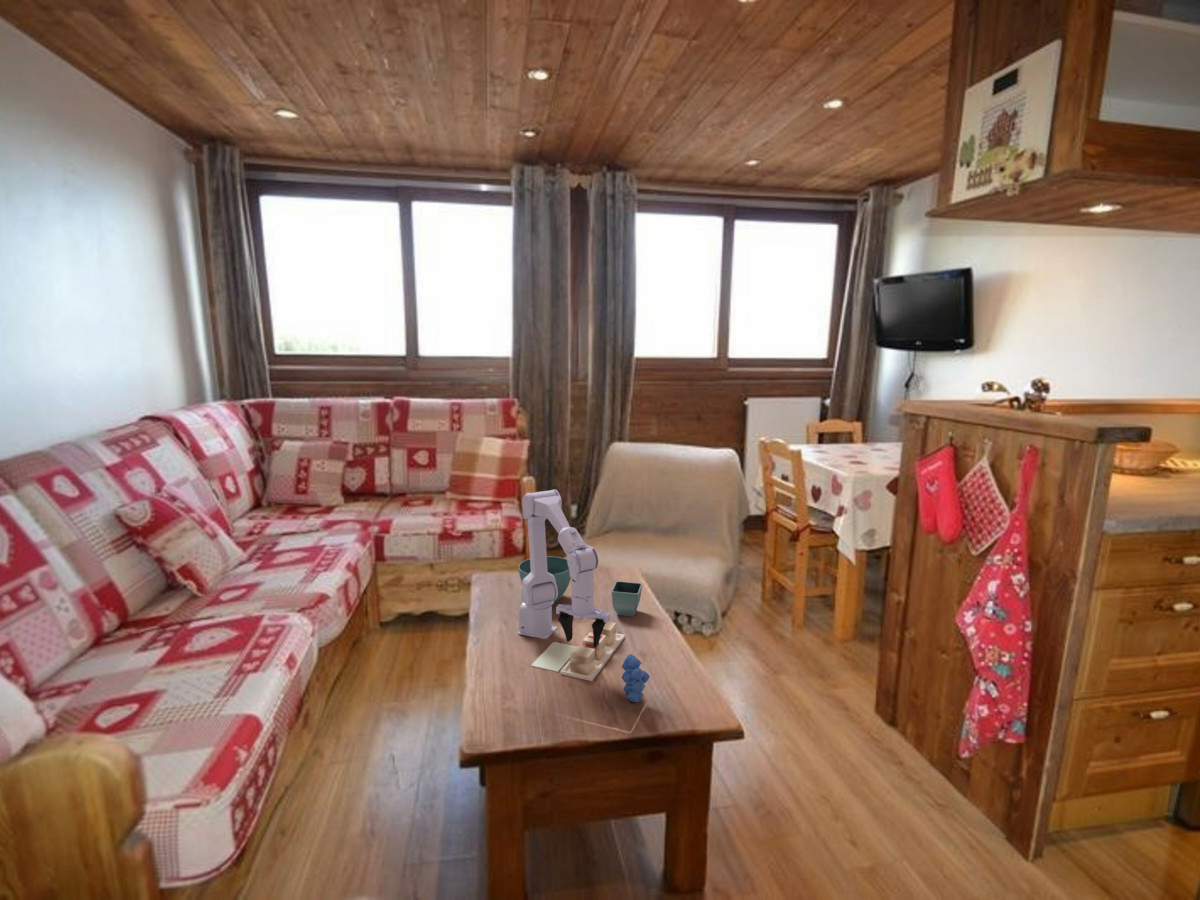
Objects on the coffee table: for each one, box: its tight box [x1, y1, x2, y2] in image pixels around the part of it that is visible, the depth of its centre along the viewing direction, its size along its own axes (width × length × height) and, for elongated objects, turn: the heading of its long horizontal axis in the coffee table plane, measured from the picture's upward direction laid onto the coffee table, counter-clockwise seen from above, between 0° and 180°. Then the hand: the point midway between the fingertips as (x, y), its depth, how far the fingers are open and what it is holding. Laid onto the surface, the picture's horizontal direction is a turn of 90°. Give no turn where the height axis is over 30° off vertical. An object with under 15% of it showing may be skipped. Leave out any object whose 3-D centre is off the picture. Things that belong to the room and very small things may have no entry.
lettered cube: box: [582, 631, 606, 661], centre depth 165 cm, size 5×5×5 cm
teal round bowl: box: [518, 556, 572, 604], centre depth 202 cm, size 18×18×12 cm
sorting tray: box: [559, 632, 626, 682], centre depth 166 cm, size 9×25×1 cm, turn 158°
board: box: [530, 641, 578, 673], centre depth 165 cm, size 8×14×1 cm, turn 158°
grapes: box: [621, 653, 651, 703], centre depth 144 cm, size 12×7×12 cm, turn 14°
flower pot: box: [611, 580, 643, 617], centre depth 192 cm, size 9×9×9 cm
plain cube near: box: [569, 645, 595, 676], centre depth 158 cm, size 5×5×5 cm
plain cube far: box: [601, 621, 617, 647], centre depth 173 cm, size 5×5×5 cm
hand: (582, 642), depth 157 cm, fingers open, 7 cm apart
